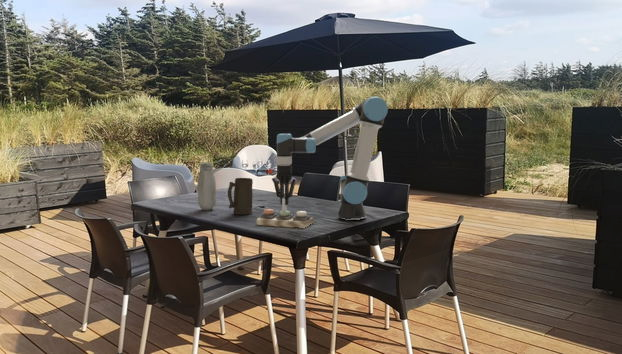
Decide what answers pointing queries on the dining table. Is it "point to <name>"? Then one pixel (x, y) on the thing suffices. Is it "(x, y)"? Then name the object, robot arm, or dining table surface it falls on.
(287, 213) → the sage button
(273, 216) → the button panel
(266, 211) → the terracotta button
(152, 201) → the dining table surface
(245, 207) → the beer stein
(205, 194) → the glass bottle
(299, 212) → the cream button
